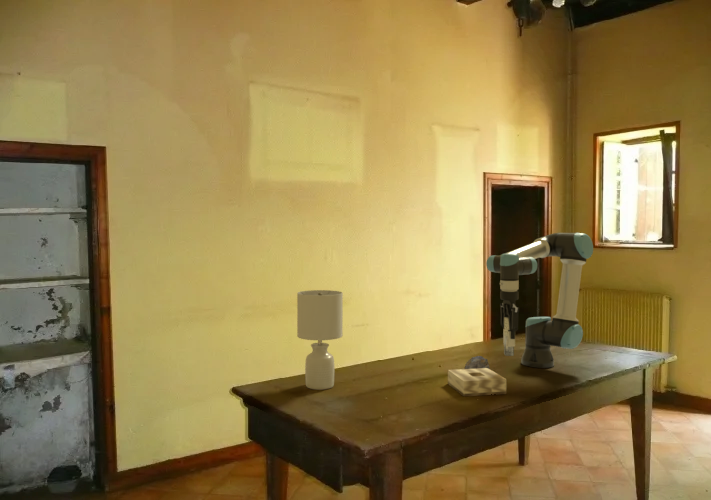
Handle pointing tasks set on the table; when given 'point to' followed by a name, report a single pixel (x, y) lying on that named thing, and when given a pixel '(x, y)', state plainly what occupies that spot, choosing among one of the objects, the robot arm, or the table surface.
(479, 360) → the rock
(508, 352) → the pin
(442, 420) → the table surface
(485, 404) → the table surface
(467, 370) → the bore block
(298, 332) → the lamp
